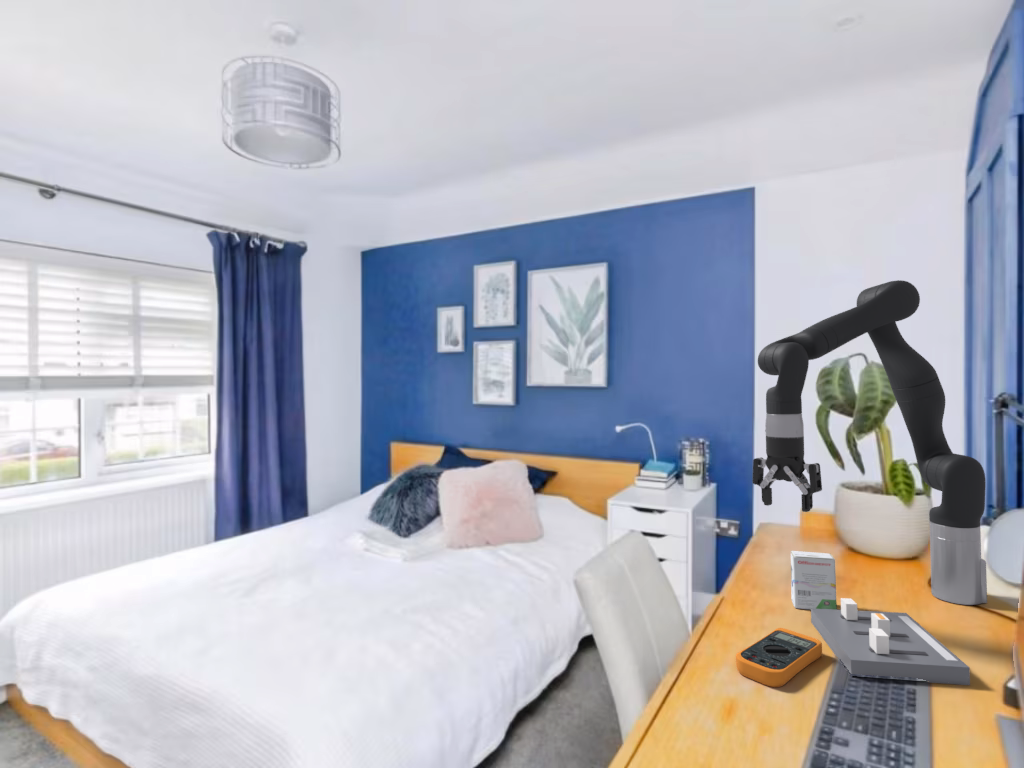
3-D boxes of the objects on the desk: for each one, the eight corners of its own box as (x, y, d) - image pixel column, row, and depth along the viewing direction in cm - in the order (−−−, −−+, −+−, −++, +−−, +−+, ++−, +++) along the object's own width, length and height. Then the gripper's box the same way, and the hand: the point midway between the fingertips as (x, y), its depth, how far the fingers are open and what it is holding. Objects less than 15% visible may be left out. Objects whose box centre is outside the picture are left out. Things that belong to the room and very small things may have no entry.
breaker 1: (851, 614, 115) (851, 598, 115) (857, 620, 112) (857, 604, 112) (841, 613, 115) (840, 598, 115) (846, 619, 112) (846, 603, 112)
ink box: (794, 608, 126) (792, 556, 126) (790, 599, 131) (789, 549, 131) (837, 612, 123) (835, 559, 123) (832, 603, 128) (830, 552, 128)
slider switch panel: (906, 627, 115) (906, 612, 115) (970, 685, 93) (969, 666, 93) (811, 622, 119) (810, 607, 119) (851, 677, 97) (850, 659, 97)
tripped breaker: (883, 630, 107) (882, 613, 107) (890, 637, 104) (889, 619, 104) (871, 629, 108) (871, 612, 108) (878, 636, 105) (877, 619, 105)
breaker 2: (881, 646, 101) (881, 628, 101) (889, 654, 98) (888, 636, 98) (869, 645, 102) (869, 628, 102) (876, 653, 99) (876, 635, 99)
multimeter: (730, 674, 100) (730, 654, 100) (779, 641, 111) (778, 624, 111) (778, 694, 93) (777, 673, 93) (824, 657, 105) (824, 639, 105)
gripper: (826, 434, 119) (828, 510, 119) (763, 431, 130) (765, 500, 130) (808, 437, 114) (810, 516, 114) (744, 433, 126) (746, 505, 126)
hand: (786, 508), depth 122 cm, fingers open, 8 cm apart
